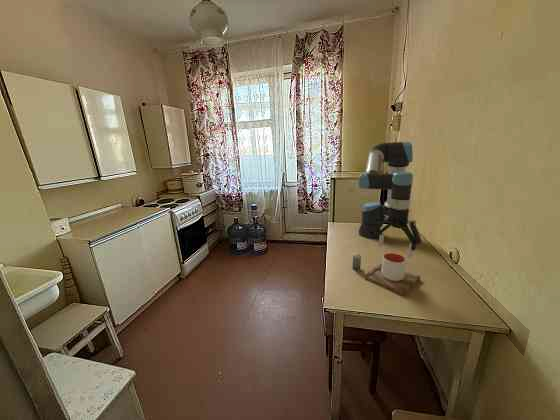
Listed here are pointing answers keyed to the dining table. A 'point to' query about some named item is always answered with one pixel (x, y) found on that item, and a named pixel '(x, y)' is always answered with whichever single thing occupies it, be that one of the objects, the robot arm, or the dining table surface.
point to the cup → (393, 266)
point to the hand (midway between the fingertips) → (394, 251)
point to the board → (394, 286)
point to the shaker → (356, 261)
